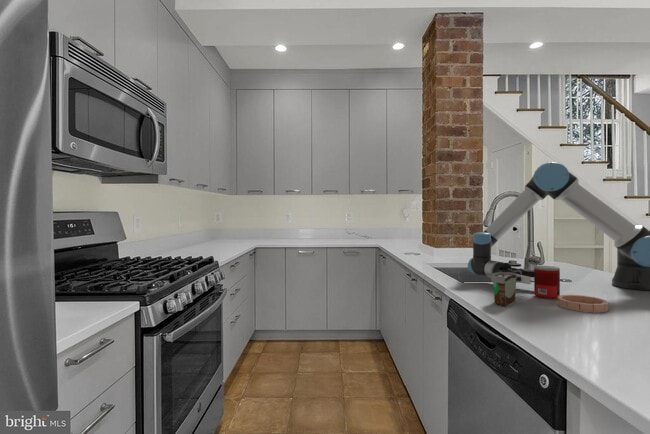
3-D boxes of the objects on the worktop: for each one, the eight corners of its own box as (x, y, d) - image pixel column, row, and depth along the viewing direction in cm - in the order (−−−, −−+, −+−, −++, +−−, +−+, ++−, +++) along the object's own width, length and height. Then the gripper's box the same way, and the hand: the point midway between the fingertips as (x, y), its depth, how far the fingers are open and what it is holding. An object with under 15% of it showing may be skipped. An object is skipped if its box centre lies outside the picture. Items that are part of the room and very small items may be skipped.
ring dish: (584, 301, 125) (585, 294, 125) (619, 311, 112) (619, 304, 112) (548, 302, 124) (548, 295, 124) (578, 313, 111) (578, 305, 111)
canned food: (563, 299, 127) (563, 269, 127) (538, 299, 129) (538, 268, 128) (554, 294, 135) (554, 265, 134) (531, 294, 136) (531, 265, 136)
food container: (498, 298, 131) (498, 270, 130) (516, 301, 126) (516, 272, 126) (485, 304, 122) (485, 275, 122) (504, 307, 118) (504, 277, 117)
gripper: (521, 277, 156) (568, 286, 136) (475, 281, 148) (517, 292, 128) (521, 260, 156) (568, 267, 136) (475, 263, 148) (517, 271, 128)
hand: (543, 279), depth 132 cm, fingers open, 13 cm apart
